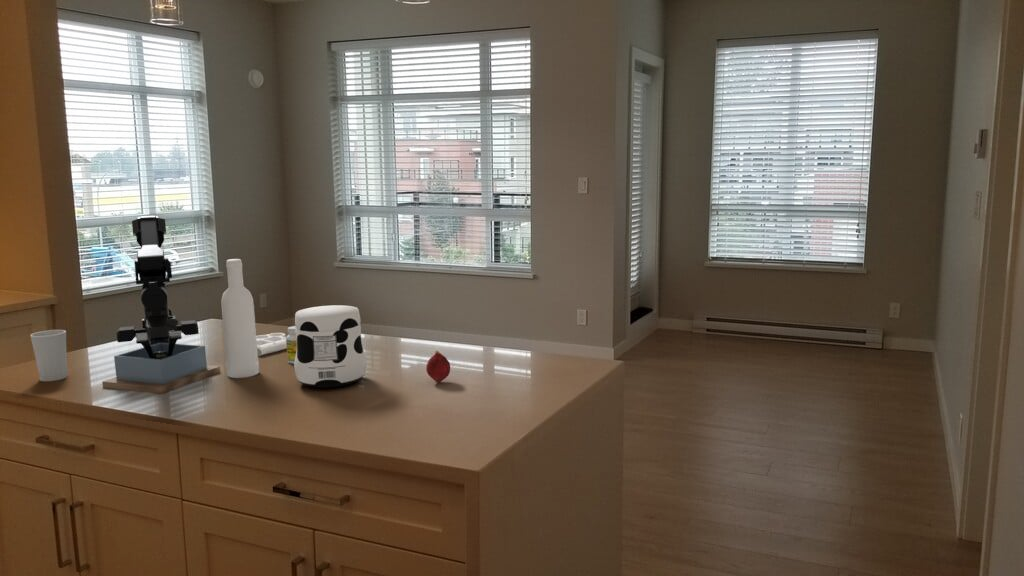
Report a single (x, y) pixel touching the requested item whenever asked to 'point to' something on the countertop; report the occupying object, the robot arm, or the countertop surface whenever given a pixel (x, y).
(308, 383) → the milk container
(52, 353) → the cup
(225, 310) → the bottle
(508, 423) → the countertop surface
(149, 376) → the blue grey open box
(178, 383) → the serving board
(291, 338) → the supplement bottle
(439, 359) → the onion
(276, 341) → the white muffin tray
